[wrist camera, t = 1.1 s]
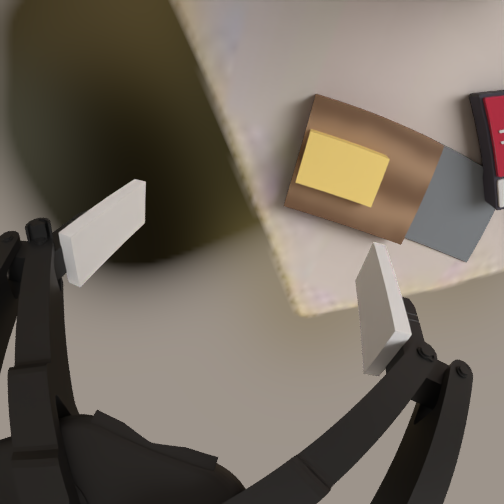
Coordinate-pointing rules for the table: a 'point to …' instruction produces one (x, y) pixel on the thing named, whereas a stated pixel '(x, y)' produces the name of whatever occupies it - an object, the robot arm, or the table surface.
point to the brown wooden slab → (394, 180)
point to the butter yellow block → (342, 168)
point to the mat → (452, 207)
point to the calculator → (491, 142)
